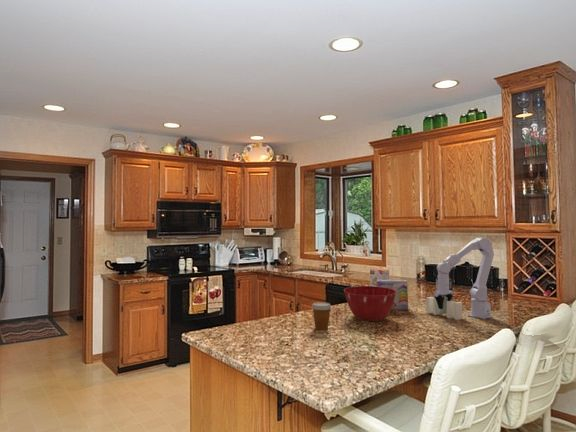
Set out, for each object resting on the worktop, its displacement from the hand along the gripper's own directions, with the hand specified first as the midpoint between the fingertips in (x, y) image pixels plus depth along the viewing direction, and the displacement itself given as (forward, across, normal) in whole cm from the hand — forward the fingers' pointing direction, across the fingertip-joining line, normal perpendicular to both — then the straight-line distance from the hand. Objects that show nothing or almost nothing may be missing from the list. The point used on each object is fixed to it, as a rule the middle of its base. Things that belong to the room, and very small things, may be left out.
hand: (443, 308), depth 225 cm
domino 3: (+3, 0, 0) cm, 3 cm away
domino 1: (+4, 0, -9) cm, 10 cm away
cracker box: (+4, -5, -54) cm, 54 cm away
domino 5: (+4, 0, +9) cm, 10 cm away
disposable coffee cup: (+5, +74, -16) cm, 76 cm away
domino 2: (+4, 0, -4) cm, 6 cm away
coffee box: (+4, -29, -20) cm, 36 cm away
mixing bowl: (+5, +39, -18) cm, 43 cm away
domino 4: (+4, 0, +4) cm, 6 cm away
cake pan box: (+5, +11, -28) cm, 31 cm away
